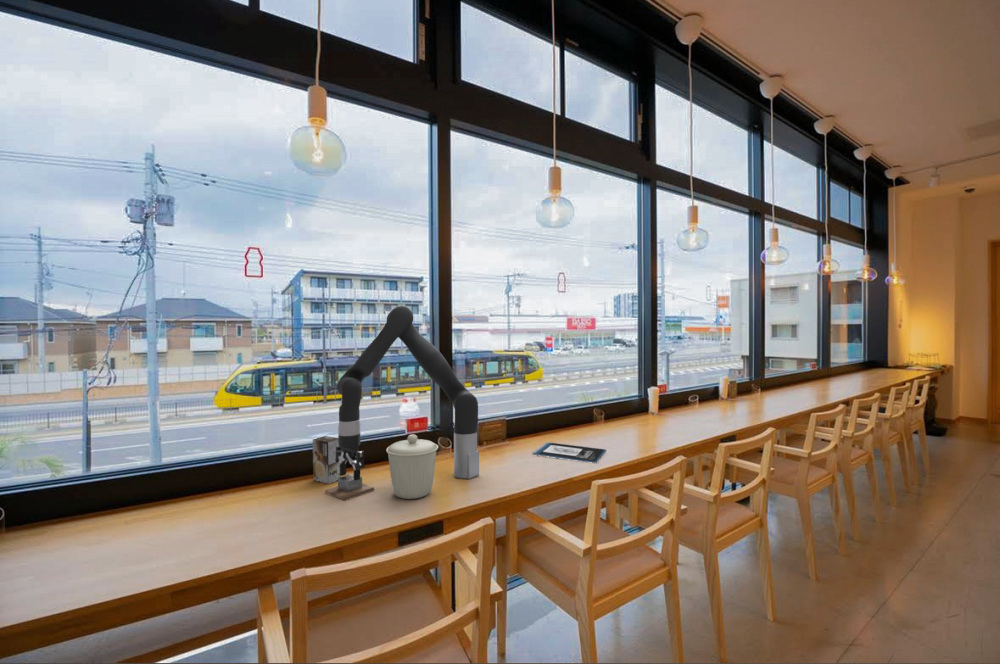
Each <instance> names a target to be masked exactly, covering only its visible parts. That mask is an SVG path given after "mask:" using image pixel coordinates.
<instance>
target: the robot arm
mask: <svg viewBox="0 0 1000 664" xmlns="http://www.w3.org/2000/svg"><path fill="white" fill-rule="evenodd" d="M413 321H414V313H413V312H412V310H411V308H409V307H408V306H406V305H405V306H403V305H399V306H396V307H394V308H392V309H391V311H389V313H388V314H387V316H386V323H385V324H384V326H383V328H382V329H381V330H380V332H379V333H378V334H377V335H376V337H375V338H374V339H373V340H372V341H371V343H370V344H369V345H368V346H367V347H366V348H365V349H364V351H363V352H362V353H361V355H359V357H358V358H357V360H356V361H355V363H354V364H353V365H352V366H350V368H349V369H348V370H347V371H346V372H345V373H344V374H342V376H341V377H340V378H339V380H338V382H337V384H336V390H337V392H338V393H339V394H340V395H341V405H340V406H339V408H338V427H337V428H338V429H337V430H338V431H337V432H338V435H337V436H338V437H337V438H338V445H339V446H337V447H336V459H335V461H336V463H337V462H338V464H339V465H340V475H341V477H344V476H346V475H347V462H349V464H350V465H351V466H352V468H353V474H354V480H359V479H360V477H361V469H364V468H365V467H366V466H365V452H364V450H360V451H359V448H358V447H359V446H360V445H361V421H360V420H361V419H360V412H361V411H360V404H361V400H362V393H363V389H362V382H363V381H364V379H365V378H369V376H371V374H372V373H373V372H374V371H375V369H376V368H377V366H378V365H379V364H380V362H381V361H382V360H383V358H384V357H385V355H386V354H387V352H388V351H389V349H390V348H391V347H392V345H393V344H394V343H395V342H396V341H397V339H400V340H401V342H403V344H404V345H405V347H407V349H408V350H409V352H410V353H411V355H412V357H413V358H414V359H415V360H416V361H417V364H419V366H420V367H421V368H422V370H423V371H424V372H425V373H426V375H427V376H429V377H428V378H430V379H431V380H432V381H433V382H434V383H435V384H436V385H437V386H438V387H440V389H442V390H443V392H444V393H445V395H446V397H448V400H449V401H450V403H451V404H452V406H453V409H454V425H453V472H454V473H453V476H454V477H455V478H458V479H467V480H470V479H472V478H475V477H477V476H480V451H479V450H478V425H479V403H478V399H477V397H476V396H475V395H474V394H473V393H471V392H470V391H469V390H468V389H467V388H466V386H464V384H462V382H461V381H460V380H459V379H458V378H457V375H456V374H455V372H454V371H453V369H452V367H451V366H450V364H449V362H448V361H447V360H446V358H445V357H444V355H443V354H442V353H441V352H440V350H439V348H437V347H436V346H434V344H432V343H431V342H430V341H429V340H427V338H425V337H424V336H423V335H422V334H421V333H420V332H419V331H418V330H417V329H416V327H415V325H414V323H413ZM339 456H340V458H339ZM338 458H339V459H338Z"/></svg>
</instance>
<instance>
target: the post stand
mask: <svg viewBox="0 0 1000 664" xmlns="http://www.w3.org/2000/svg"><path fill="white" fill-rule="evenodd" d="M353 474H354V473H346V475H345V476H346V480H351V479H353ZM373 491H375V487H374V486H371V485H368V484H365V483H363V482H362V488H361V489H358V490H355V491H352V492H350V493H346V492H343V491H341V490H338V485H337V486H334V487H330V488H327V489H325V490H324V492H325V494H327V493H328V494H327V495H329V494H330V496H332V495H333V496H332V497H334V496H335V498H338V499H339V498H340V500H342V499H343V501H344V500H345V501H348V500H350V498H351V499H353V497H354V498H356V496H357V497H359V496H362V495H364V493H365V494H367V492H368V493H369V492H373ZM361 494H362V495H361ZM358 495H359V496H358ZM347 499H348V500H347Z"/></svg>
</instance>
